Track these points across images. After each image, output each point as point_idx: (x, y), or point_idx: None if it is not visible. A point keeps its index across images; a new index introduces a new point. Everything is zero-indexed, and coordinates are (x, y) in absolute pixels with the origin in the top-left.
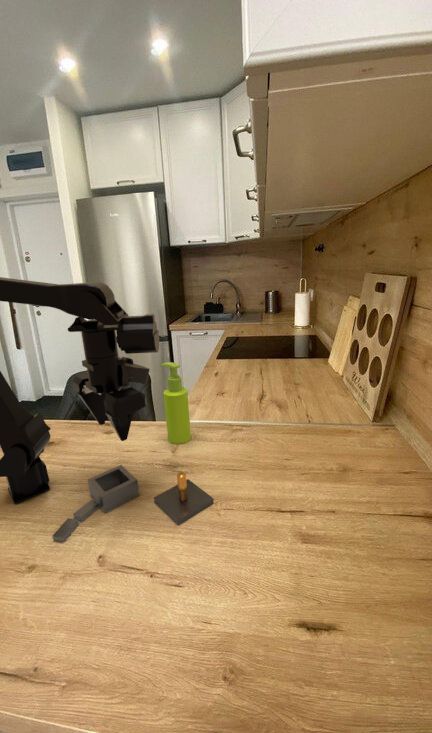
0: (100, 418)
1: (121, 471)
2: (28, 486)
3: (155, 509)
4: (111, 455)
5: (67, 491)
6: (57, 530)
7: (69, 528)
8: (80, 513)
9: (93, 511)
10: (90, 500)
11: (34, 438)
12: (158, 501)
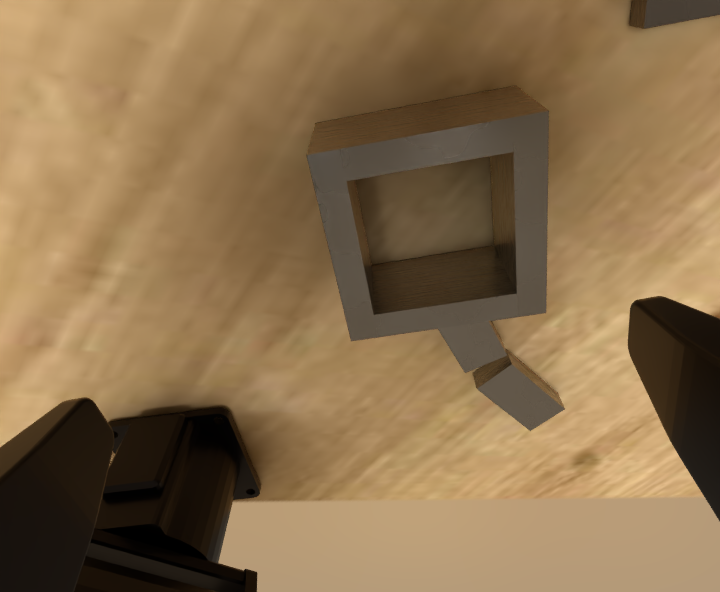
0: (72, 495)
1: (387, 173)
2: (230, 493)
3: (686, 43)
4: (3, 117)
5: (269, 357)
6: (515, 417)
7: (536, 389)
8: (482, 352)
9: None
10: None
11: None
12: (699, 15)
